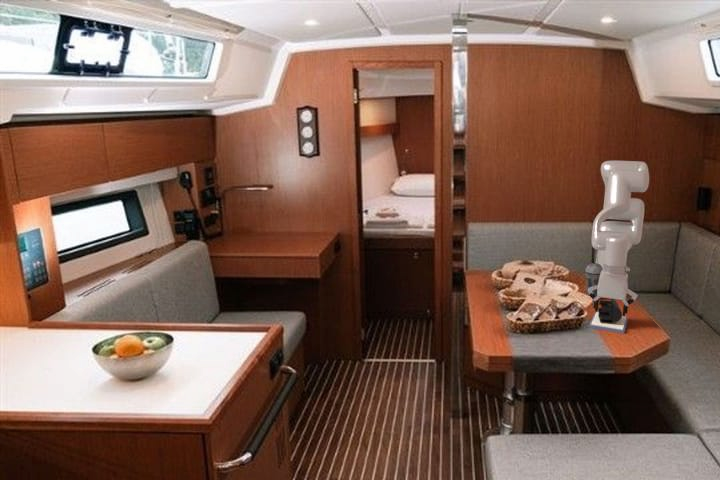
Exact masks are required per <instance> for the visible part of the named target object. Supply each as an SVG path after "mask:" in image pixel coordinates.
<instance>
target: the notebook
mask: <svg viewBox="0 0 720 480" xmlns="http://www.w3.org/2000/svg"><path fill="white" fill-rule="evenodd" d="M598 314H599V313H598V311H596V312H595V311H594V314H593V316H592V318H591V320H590V322H589V324H588V328H591V329H597V330H603V331H607V332H612V333H613V332H614V333H620V334H625V331H626V328H627V325H628V322H629V317H628V316H623V315H622V318H621V319H620V321H618V322H616V323H614V324H605V323H600V320H599V316H598Z"/></svg>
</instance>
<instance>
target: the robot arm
mask: <svg viewBox="0 0 720 480" xmlns="http://www.w3.org/2000/svg"><path fill="white" fill-rule="evenodd" d="M649 173H650V172H649V167H648V164H647V163H646V162H645V161H637V160H635V161H634V160H633V161H632V160H606V161H604V162H602V163H601V166H600V174H601V177H602V180H603V183H604V199H603V208H602V210H601V211H600V212H598V214H597V215H596V217H595V218H594V219H593V223H592V231H591V246H592V248H593V249H595V250H597V253H599V254H598V260H597V263H598V264H600V265H601V266H602V268H603V270H602V271H601V274H600V278H599V283H598V285H595V286H592V287H589V288H588V289H587V290H588V292H589V294H590V297H591V298H592V299H593V309H594V313H595V312H598V310H599V301H600V300H599V299H601V298H603V299H608V300H611V299H612V300H615V301H622V303H623V307H622V316H625V315H626V314H628V311H629V305H631V304H633V303H634V302H635V301H636V299H637V298H638V294H637V293H636V292H635V291H632V290H631V289H629V275H628V272H631V271H630V270H631V267H628V266H627V258H628V252H629V250H630V249H632V247H633V245H634V246H635V245H638V244H640V242H641V240H642V234H643V226H644V219H645V218H644V217H645V203H644V201H643V200H642V199H641V198H635V197H631V196H632V193H645V192H646V191H647V190H648V189H649V184H650V174H649ZM608 219H610V220H608ZM607 220H608V221H607ZM611 220H612V221H611ZM613 220H616V221H613ZM617 220H618V221H617ZM619 220H620V221H619ZM624 221H625V222H624ZM627 221H630V222H627ZM595 289H597V295H596V296H595V295H594V293H593V292H592V290H595ZM628 295H630V296H631V298H630V299H628V298H627V296H628ZM625 317H626V316H625Z"/></svg>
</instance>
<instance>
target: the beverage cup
mask: <svg viewBox="0 0 720 480" xmlns="http://www.w3.org/2000/svg"><path fill="white" fill-rule="evenodd" d="M598 254H599V253H598V252H597V253H596V259H595V262H591V263H589V264H588V265H587V266H586V268H585V271H584V272H585V296H586V295H588V296H590V294H589V292H588V290H587V289H588V288H589V287H592V286H595V285H598V283H599V278H600V274H601V271H602V270H603V268H602V266H601V265H600V264H598V263H597V260H598ZM592 292H593V293H594V295H595V296H596V295H597V289H595V290H592Z"/></svg>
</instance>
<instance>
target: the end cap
mask: <svg viewBox="0 0 720 480" xmlns="http://www.w3.org/2000/svg"><path fill="white" fill-rule="evenodd" d="M599 305H600V307H598V310H597V312H598V313H599V314H598V316H599V320H600V323H605V324H614V323H616V322H618V321H620V319H621V318H622V316H623V311H621V308H620V304H619V303H618V302H617V300H615V299H610V300H599V304H598V306H599Z"/></svg>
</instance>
